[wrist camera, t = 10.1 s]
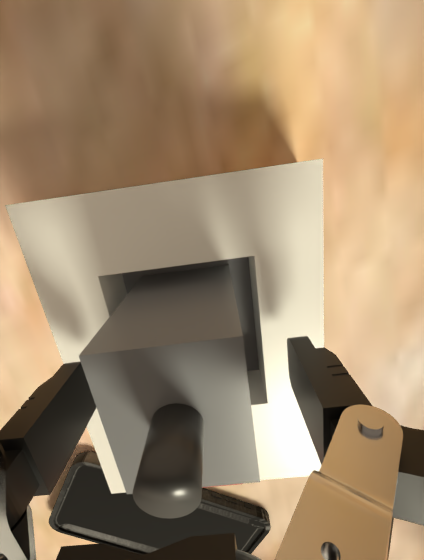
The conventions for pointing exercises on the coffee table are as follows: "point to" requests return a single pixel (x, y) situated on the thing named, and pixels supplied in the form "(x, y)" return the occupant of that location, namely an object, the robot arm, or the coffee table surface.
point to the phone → (146, 515)
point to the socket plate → (185, 256)
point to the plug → (175, 389)
